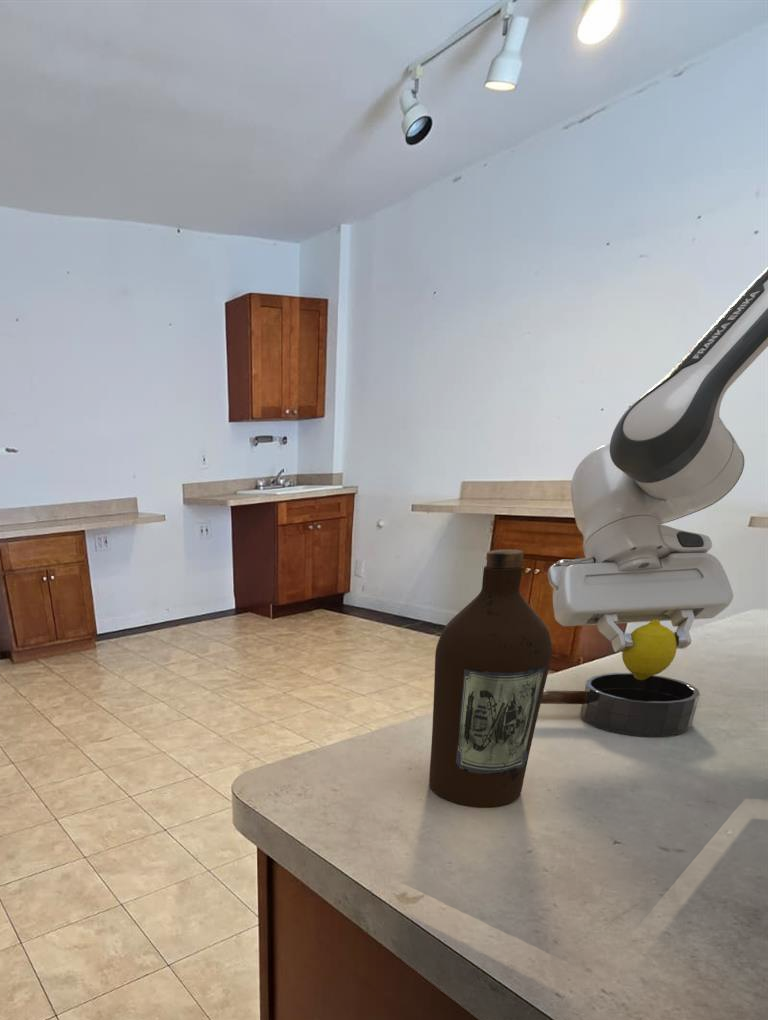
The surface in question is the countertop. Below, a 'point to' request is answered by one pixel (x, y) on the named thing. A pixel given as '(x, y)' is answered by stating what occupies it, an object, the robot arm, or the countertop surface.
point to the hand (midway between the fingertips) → (653, 648)
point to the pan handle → (564, 697)
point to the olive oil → (488, 690)
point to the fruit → (650, 650)
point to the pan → (639, 705)
